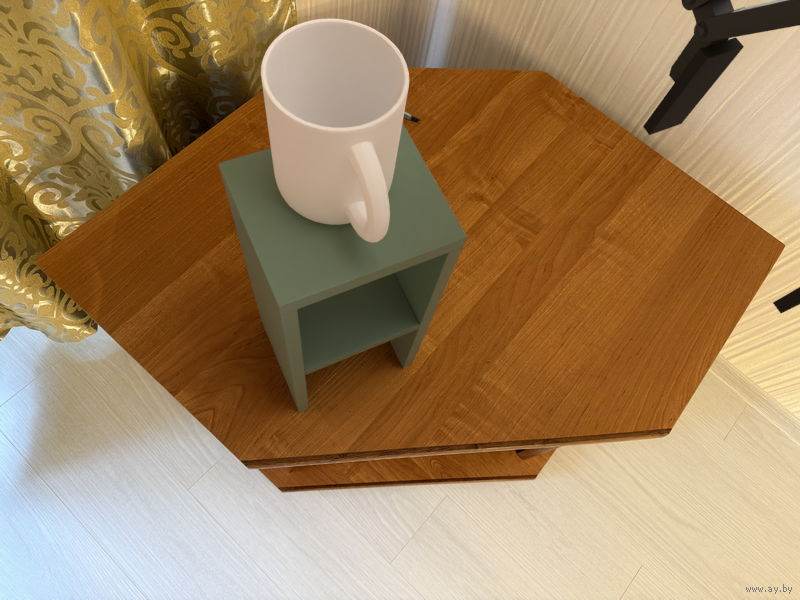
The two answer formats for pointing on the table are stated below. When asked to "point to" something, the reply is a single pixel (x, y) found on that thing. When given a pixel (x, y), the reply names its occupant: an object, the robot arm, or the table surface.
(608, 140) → the table surface
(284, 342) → the shelf
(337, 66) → the mug
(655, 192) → the table surface
